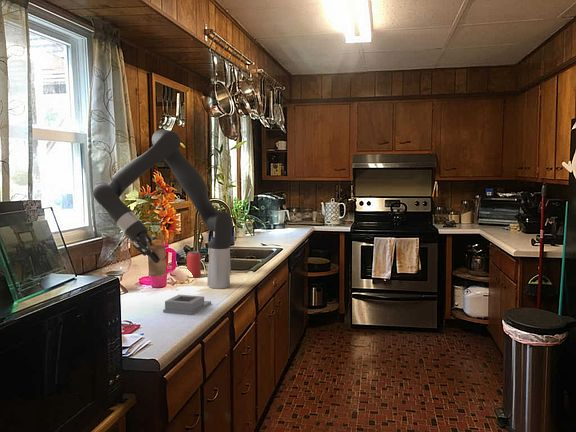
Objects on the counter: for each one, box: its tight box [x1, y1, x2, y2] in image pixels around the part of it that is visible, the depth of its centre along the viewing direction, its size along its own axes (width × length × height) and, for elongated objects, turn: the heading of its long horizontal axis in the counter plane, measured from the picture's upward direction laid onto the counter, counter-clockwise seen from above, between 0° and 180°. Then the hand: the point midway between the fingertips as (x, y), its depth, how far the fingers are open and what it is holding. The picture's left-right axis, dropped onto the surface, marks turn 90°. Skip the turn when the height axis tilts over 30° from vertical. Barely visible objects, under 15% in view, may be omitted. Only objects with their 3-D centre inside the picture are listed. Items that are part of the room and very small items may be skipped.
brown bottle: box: [147, 239, 167, 277], centre depth 190 cm, size 4×4×13 cm
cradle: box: [162, 294, 212, 316], centre depth 190 cm, size 12×16×4 cm
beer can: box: [186, 250, 202, 279], centre depth 246 cm, size 7×7×12 cm
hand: (161, 260), depth 189 cm, fingers closed on brown bottle, 4 cm apart
